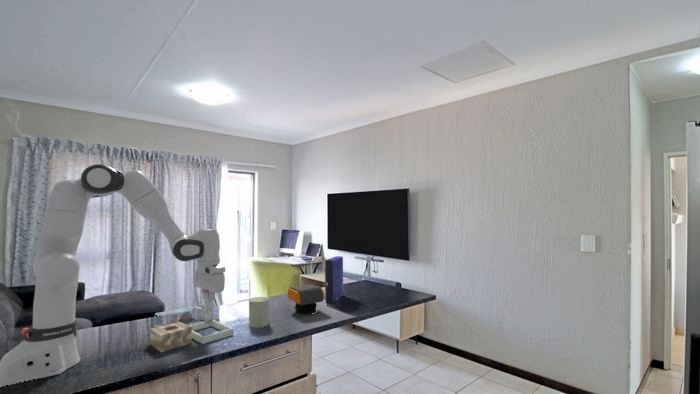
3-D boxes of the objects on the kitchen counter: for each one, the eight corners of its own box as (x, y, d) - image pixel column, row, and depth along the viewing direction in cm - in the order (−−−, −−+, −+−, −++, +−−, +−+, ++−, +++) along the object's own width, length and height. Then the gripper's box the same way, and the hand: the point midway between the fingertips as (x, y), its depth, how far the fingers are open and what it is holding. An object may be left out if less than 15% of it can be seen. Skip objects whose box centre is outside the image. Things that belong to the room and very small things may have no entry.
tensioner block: (160, 354, 124) (161, 335, 124) (150, 347, 131) (150, 328, 132) (191, 345, 132) (191, 327, 132) (179, 338, 140) (180, 321, 140)
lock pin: (206, 324, 140) (206, 290, 141) (202, 323, 142) (203, 289, 143) (213, 322, 143) (214, 289, 143) (210, 321, 145) (210, 288, 145)
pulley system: (153, 325, 159) (153, 333, 146) (153, 315, 160) (154, 322, 147) (215, 318, 173) (220, 324, 160) (215, 308, 174) (220, 314, 161)
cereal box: (336, 295, 210) (335, 256, 211) (343, 295, 209) (342, 256, 210) (325, 302, 194) (324, 260, 195) (332, 302, 192) (332, 260, 193)
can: (266, 327, 152) (266, 300, 153) (246, 327, 152) (246, 300, 153) (271, 321, 161) (271, 295, 162) (251, 321, 161) (252, 295, 162)
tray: (202, 346, 131) (202, 337, 132) (183, 335, 143) (183, 327, 144) (233, 336, 141) (233, 328, 141) (212, 327, 153) (212, 319, 153)
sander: (303, 302, 194) (303, 279, 195) (325, 312, 173) (325, 287, 174) (279, 306, 186) (279, 283, 186) (299, 318, 165) (299, 291, 166)
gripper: (190, 265, 148) (190, 297, 147) (212, 270, 134) (212, 305, 134) (204, 263, 153) (204, 294, 152) (227, 268, 139) (227, 302, 139)
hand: (208, 299), depth 143 cm, fingers closed on lock pin, 3 cm apart
